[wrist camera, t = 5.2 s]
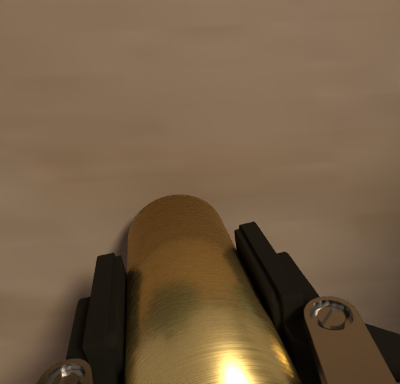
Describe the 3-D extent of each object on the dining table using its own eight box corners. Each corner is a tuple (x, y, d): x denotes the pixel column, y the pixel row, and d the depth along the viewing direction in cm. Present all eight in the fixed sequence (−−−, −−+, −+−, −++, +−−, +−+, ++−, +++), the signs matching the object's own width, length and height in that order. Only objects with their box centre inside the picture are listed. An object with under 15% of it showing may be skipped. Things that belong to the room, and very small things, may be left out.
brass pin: (117, 206, 14) (93, 452, 5) (217, 185, 14) (336, 386, 6) (139, 288, 15) (147, 572, 7) (229, 267, 16) (334, 513, 7)
